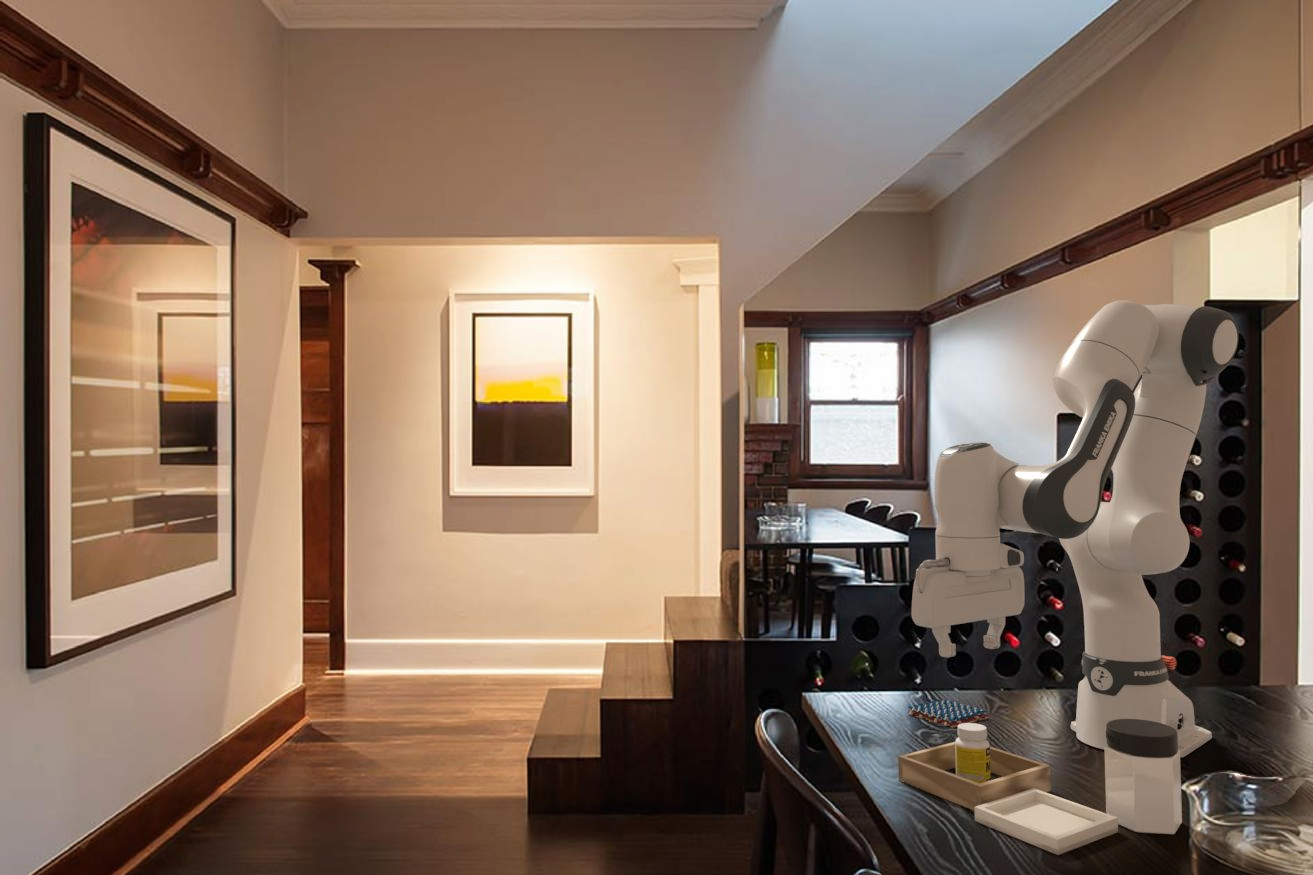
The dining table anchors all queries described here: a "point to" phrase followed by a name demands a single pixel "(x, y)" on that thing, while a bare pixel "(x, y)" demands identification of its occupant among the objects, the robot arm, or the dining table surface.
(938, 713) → the woven mat
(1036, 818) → the tray
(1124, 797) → the jar
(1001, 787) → the frame
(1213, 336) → the robot arm
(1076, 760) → the dining table surface
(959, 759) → the supplement bottle
